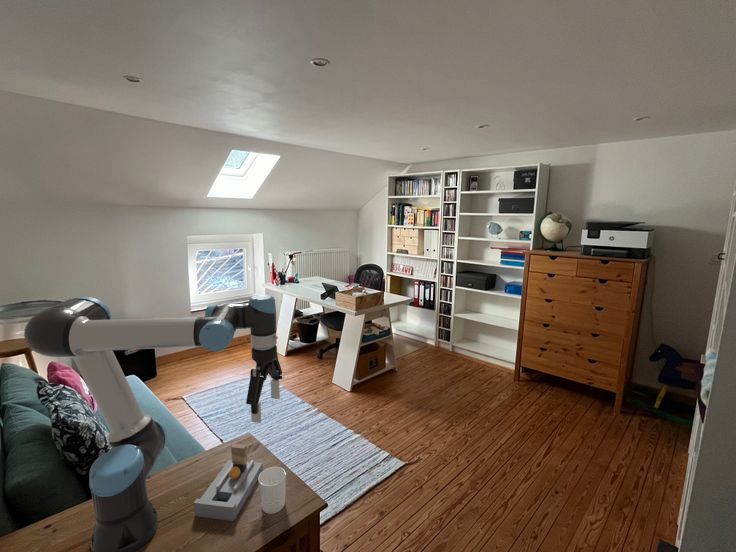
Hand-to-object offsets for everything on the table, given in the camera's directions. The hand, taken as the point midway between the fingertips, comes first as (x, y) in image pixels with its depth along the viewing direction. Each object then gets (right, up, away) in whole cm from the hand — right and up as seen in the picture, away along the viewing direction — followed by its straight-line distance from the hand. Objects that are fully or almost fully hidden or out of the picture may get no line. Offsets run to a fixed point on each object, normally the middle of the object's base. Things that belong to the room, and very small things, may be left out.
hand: (266, 409), depth 114 cm
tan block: (-10, -22, +5) cm, 24 cm away
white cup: (+4, -27, -5) cm, 28 cm away
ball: (-11, -21, +1) cm, 23 cm away
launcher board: (-11, -26, 0) cm, 28 cm away
